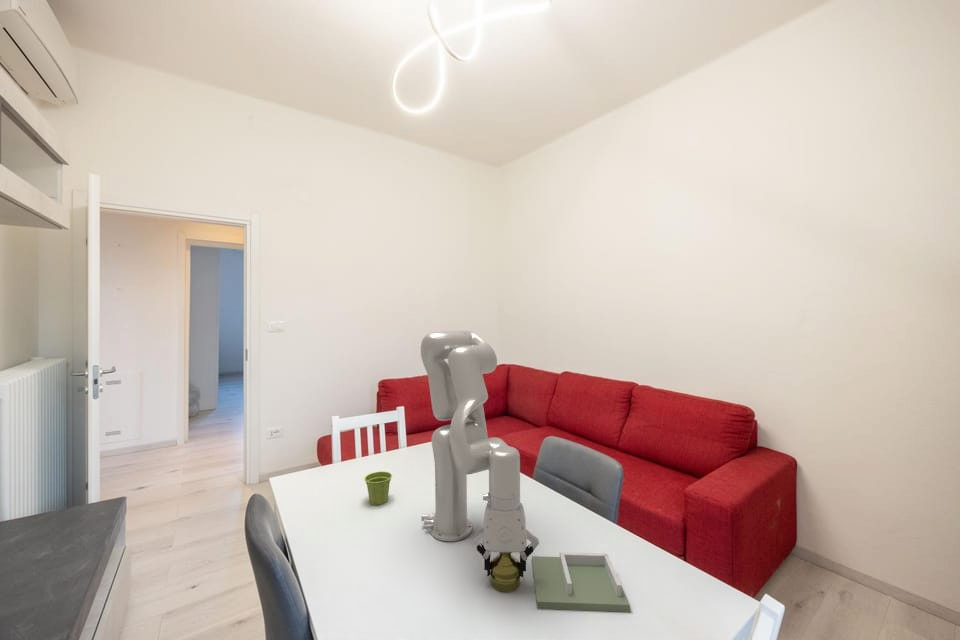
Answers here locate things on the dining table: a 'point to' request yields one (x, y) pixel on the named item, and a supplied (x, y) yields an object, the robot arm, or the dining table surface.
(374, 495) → the plant pot
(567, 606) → the board with raised rails
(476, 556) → the dining table surface
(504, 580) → the olive rounded stacked piece
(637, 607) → the dining table surface
